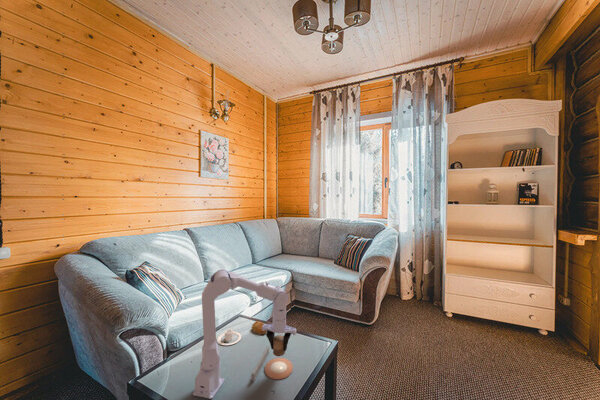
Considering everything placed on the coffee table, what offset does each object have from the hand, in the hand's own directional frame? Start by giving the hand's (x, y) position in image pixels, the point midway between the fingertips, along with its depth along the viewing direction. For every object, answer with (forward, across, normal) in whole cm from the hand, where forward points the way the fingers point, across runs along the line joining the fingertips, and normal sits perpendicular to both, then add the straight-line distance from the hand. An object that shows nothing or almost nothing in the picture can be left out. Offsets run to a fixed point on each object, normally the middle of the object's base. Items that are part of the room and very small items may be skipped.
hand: (279, 348), depth 105 cm
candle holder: (+9, +31, -15) cm, 36 cm away
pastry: (+9, +19, -26) cm, 33 cm away
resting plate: (+9, 0, 0) cm, 9 cm away
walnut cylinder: (+2, 0, 0) cm, 2 cm away
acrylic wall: (+9, +8, 0) cm, 12 cm away
